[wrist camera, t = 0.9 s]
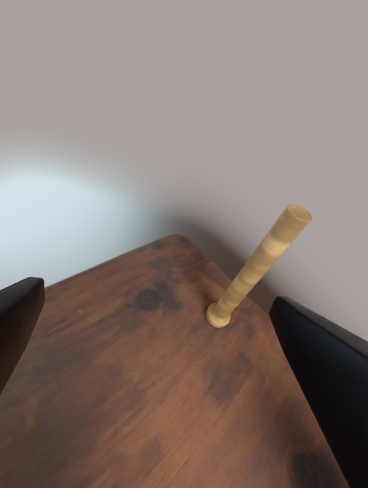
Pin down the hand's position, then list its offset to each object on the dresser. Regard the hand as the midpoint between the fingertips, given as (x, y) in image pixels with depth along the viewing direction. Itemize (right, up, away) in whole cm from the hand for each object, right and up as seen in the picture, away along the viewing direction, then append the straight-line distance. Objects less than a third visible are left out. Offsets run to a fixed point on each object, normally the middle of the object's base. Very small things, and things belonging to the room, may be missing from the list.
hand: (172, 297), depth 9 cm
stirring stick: (+4, -7, +18) cm, 19 cm away
